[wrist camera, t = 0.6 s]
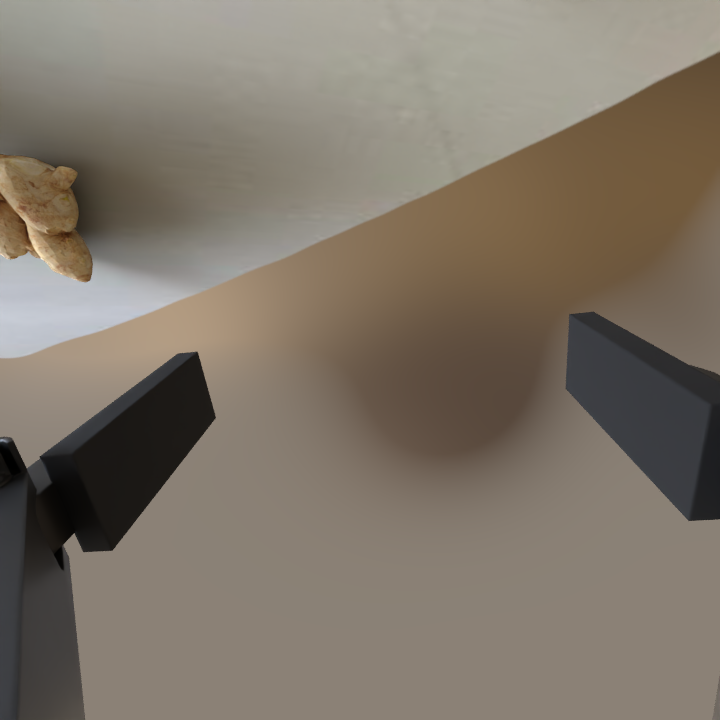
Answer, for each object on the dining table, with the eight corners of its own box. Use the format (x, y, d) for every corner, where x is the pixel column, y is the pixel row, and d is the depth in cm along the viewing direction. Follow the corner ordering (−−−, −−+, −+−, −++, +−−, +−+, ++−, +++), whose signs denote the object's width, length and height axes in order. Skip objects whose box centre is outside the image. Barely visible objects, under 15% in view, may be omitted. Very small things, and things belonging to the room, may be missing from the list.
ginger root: (132, 190, 43) (97, 247, 39) (105, 262, 55) (76, 313, 51) (-61, 78, 35) (-128, 136, 32) (-46, 190, 47) (-93, 243, 43)
